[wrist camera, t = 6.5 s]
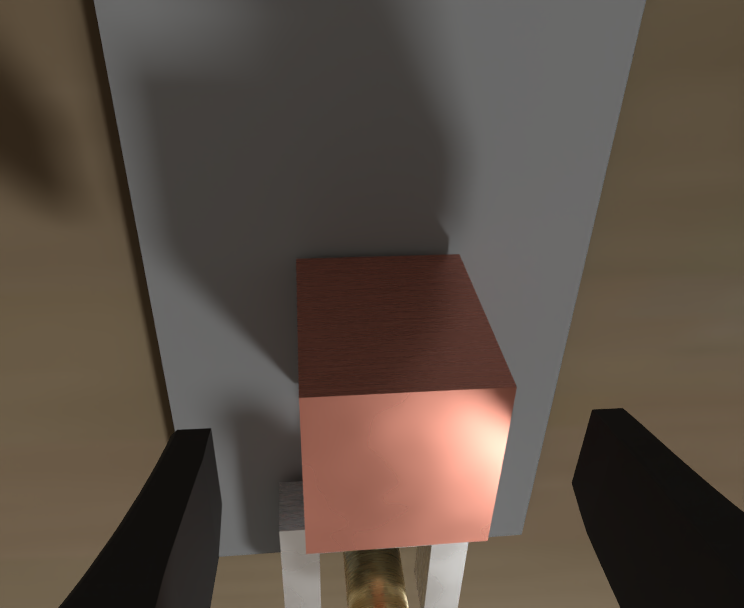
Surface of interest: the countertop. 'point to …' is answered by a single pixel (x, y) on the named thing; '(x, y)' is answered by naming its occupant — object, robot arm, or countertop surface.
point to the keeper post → (374, 579)
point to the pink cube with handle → (393, 420)
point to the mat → (356, 192)
